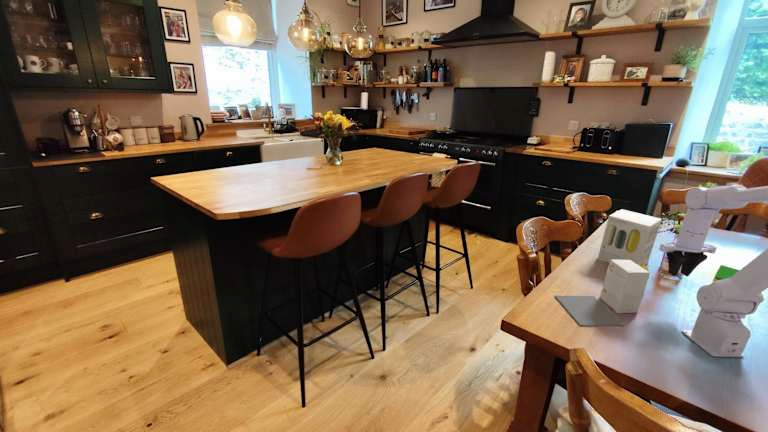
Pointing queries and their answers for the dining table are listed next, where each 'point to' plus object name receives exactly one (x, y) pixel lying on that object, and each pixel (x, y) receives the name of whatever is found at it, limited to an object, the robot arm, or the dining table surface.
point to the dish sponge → (724, 273)
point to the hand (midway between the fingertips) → (678, 274)
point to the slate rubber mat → (588, 311)
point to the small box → (624, 286)
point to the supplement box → (629, 237)
